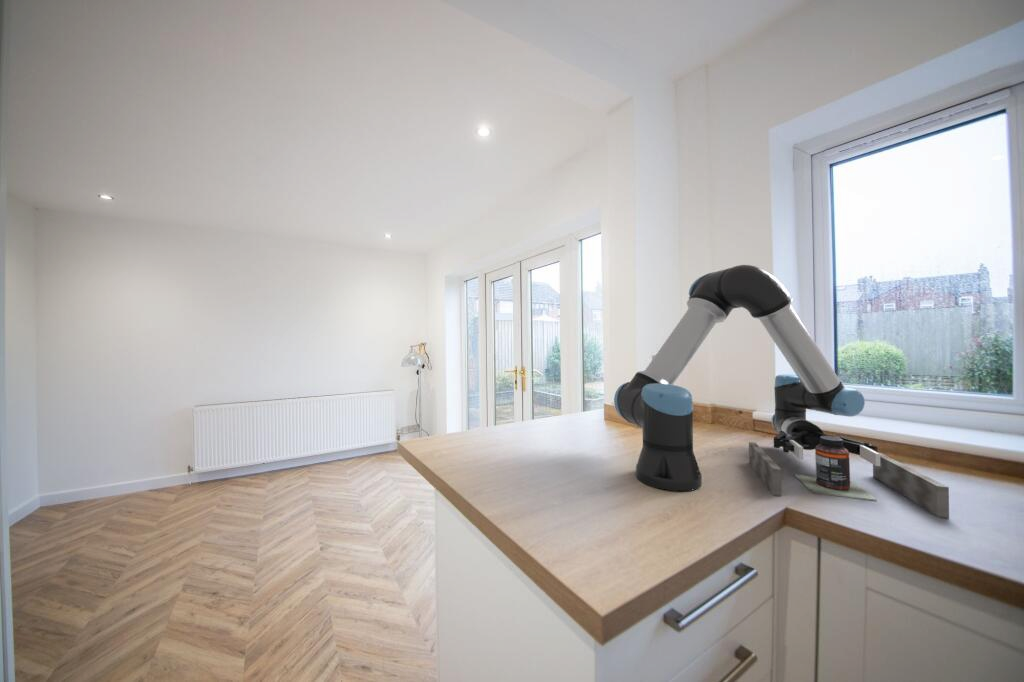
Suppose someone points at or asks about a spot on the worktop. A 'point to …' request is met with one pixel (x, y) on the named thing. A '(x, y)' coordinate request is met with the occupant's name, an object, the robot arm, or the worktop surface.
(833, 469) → the supplement bottle
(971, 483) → the worktop surface
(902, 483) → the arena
